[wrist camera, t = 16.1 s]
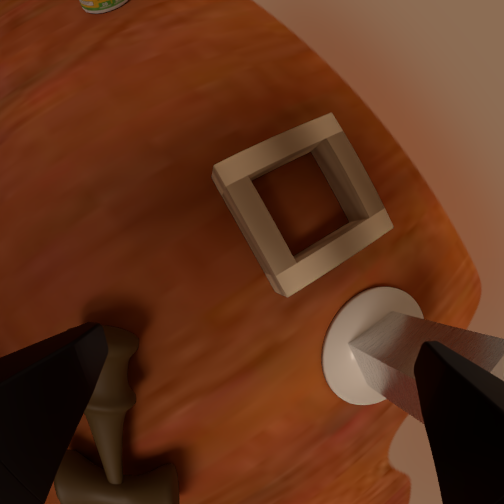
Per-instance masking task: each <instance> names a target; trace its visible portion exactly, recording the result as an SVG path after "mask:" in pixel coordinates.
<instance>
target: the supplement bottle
mask: <svg viewBox="0 0 504 504" xmlns="http://www.w3.org/2000/svg"><path fill="white" fill-rule="evenodd" d="M79 1H80V4H81V6H82V8H83V9H84V10H85V11H86V12H88V13H94V14H98V13H105V12H109V11H111V10H114V9H116V8H118V7H120V6H122V5H123V4H124V3H126V2H127V1H128V0H79Z"/></svg>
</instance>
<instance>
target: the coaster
mask: <svg viewBox="0 0 504 504" xmlns="http://www.w3.org/2000/svg"><path fill="white" fill-rule="evenodd" d="M390 311H395V312H398V313H402V314H406V315H410V316H414V317H418V318H421V319H424V317H423V314H422V311H421V309H420V307H419V305H418V304H417V302H416V301H415V300H414V299H413V298H412V297H411V296H410V295H409V294H408V293H406V292H404V291H402V290H400V289H397V288H392V287H374V288H370V289H367V290H365V291H363V292H360V293H359V294H357V295H356V296H354V297H352V298H351V299H350V300H349V301H348V302H346V303H345V305H344V306H343V307H342V308H341V309H340V310H339V311H338V313H337V314H336V315H335V317H334V318H333V320H332V322H331V323H330V326H329V328H328V330H327V332H326V335H325V338H324V342H323V346H322V354H321V364H322V371H323V374H324V377H325V380H326V382H327V384H328V385H329V387H330V388H331V390H332V391H333V392H334V393H335V394H337V395H338V396H339V397H340V398H341V399H343V400H345V401H347V402H349V403H352V404H356V405H369V404H375V403H378V402H381V401H383V400H385V399H386V398H385V397H384V396H382V395H381V394H379V393H378V392H376V391H375V390H374V389H372V388H371V387H369V386H368V385H367V383H366V381H365V379H364V376H363V374H362V372H361V370H360V368H359V366H358V364H357V362H356V359H355V357H354V355H353V353H352V351H351V349H350V347H349V345H348V343H349V342H351V341H352V340H354V339H355V338H356V337H358V336H359V335H360V334H362V333H363V332H364V331H366V330H367V329H368V328H370V327H371V326H372V325H374V324H375V323H376V322H378V321H379V320H380V319H382V318H383V317H384V316H385V315H387V314H388V313H389V312H390Z"/></svg>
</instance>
